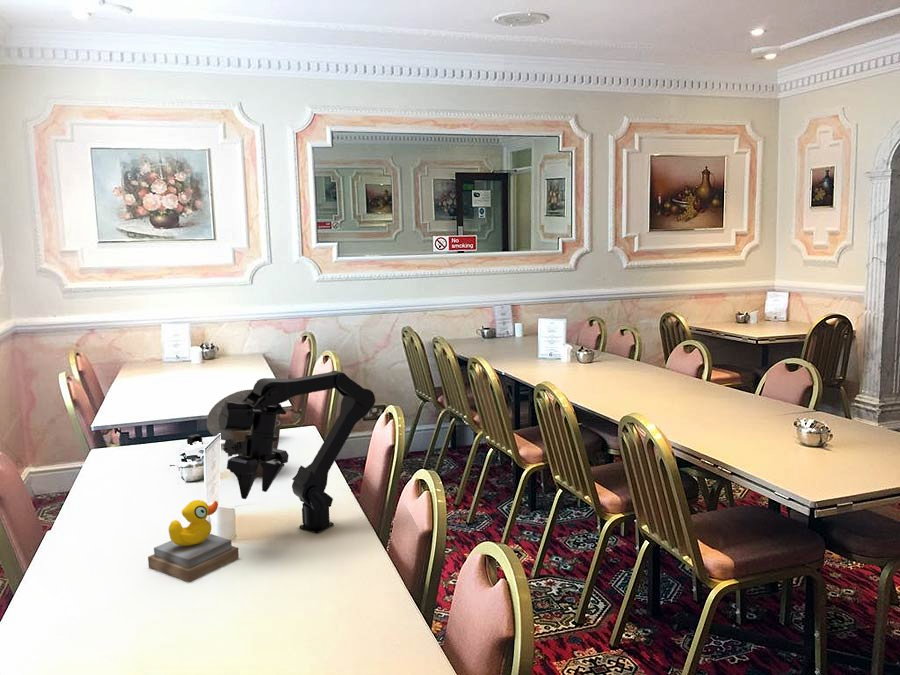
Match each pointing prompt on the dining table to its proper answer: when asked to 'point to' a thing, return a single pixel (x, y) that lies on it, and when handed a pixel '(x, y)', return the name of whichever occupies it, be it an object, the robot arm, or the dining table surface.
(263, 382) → the robot arm
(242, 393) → the grey brimmed hat
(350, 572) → the dining table surface
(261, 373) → the dining table surface
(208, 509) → the duckling
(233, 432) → the plant pot
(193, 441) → the black block
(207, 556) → the metal-topped wooden square
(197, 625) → the dining table surface
